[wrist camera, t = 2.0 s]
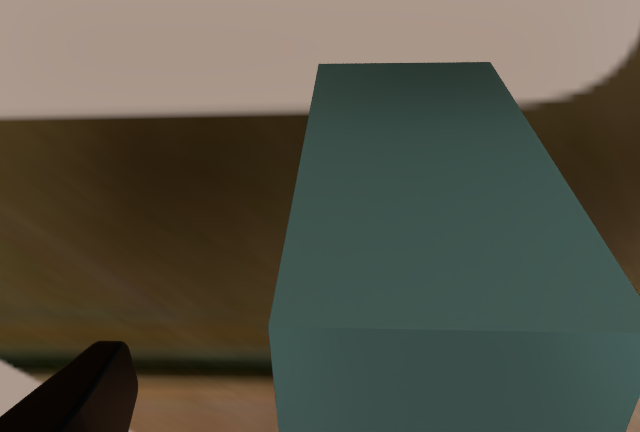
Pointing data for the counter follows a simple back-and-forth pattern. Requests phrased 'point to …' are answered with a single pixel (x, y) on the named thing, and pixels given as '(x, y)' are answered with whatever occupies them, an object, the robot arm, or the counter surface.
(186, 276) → the counter surface
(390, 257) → the teal block
